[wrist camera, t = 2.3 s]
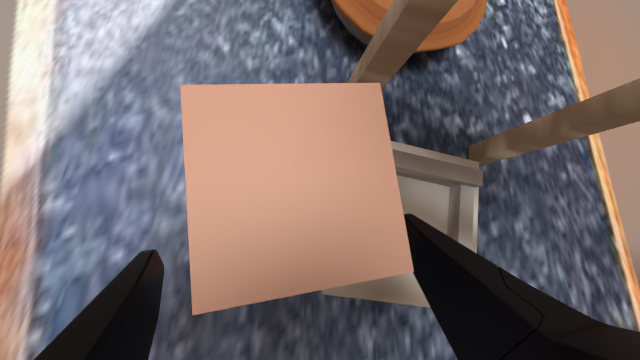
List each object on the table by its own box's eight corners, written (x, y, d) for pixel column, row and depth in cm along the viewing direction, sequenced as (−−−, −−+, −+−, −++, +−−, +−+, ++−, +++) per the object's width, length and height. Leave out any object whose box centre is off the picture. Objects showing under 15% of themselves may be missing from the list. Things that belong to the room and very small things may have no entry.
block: (315, 240, 19) (414, 271, 6) (244, 251, 18) (192, 315, 5) (306, 174, 19) (380, 82, 7) (238, 180, 18) (180, 84, 6)
